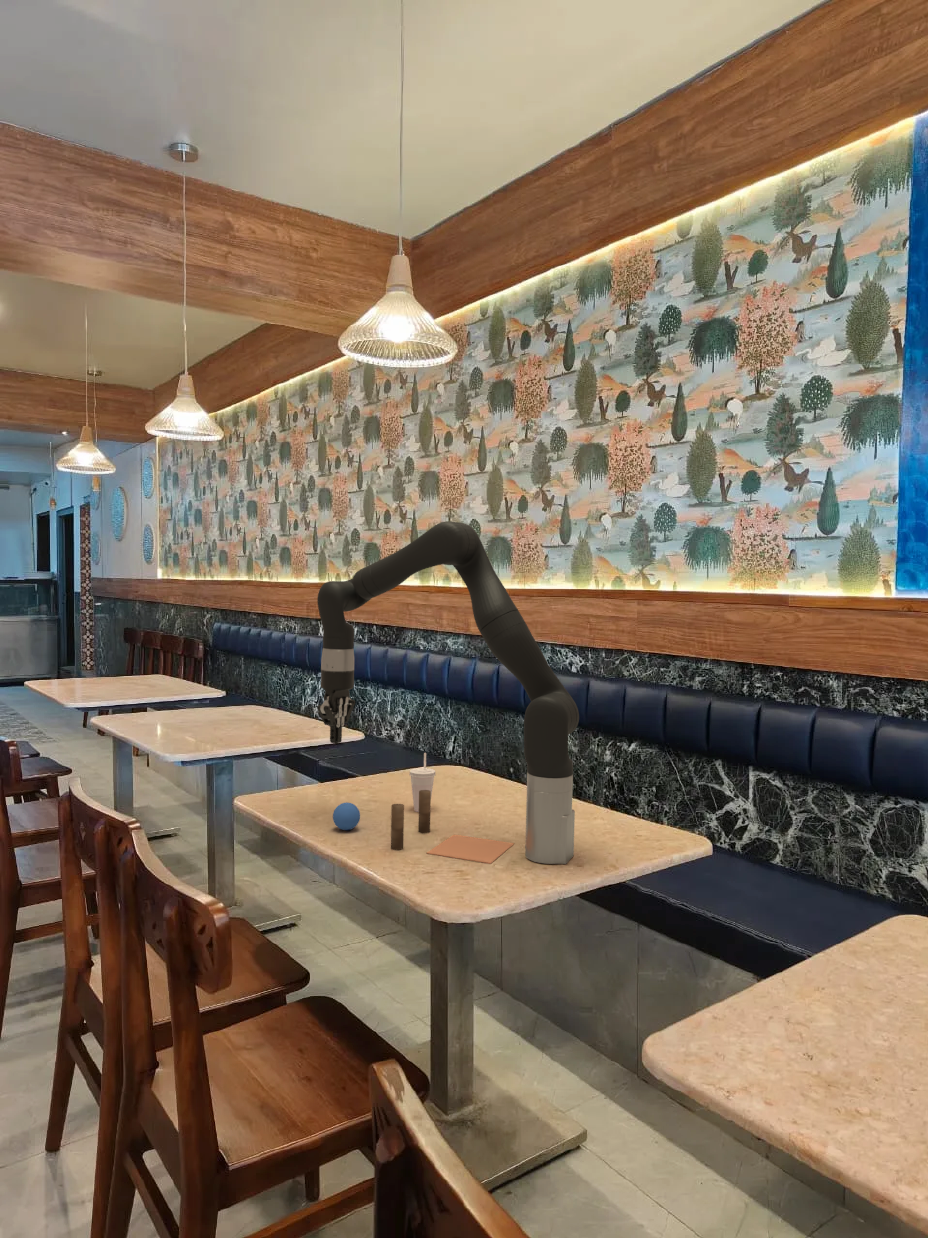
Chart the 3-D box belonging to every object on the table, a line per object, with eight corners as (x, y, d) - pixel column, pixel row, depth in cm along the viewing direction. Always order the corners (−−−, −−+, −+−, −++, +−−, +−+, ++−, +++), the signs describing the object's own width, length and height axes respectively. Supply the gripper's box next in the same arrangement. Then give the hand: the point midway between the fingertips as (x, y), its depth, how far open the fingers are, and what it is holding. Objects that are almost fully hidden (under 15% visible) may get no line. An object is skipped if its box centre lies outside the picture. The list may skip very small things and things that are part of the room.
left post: (405, 847, 177) (406, 804, 177) (399, 851, 175) (400, 807, 174) (394, 845, 178) (395, 803, 178) (388, 849, 176) (389, 806, 176)
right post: (431, 830, 189) (432, 790, 189) (426, 834, 187) (427, 793, 187) (421, 829, 190) (422, 789, 190) (416, 832, 188) (417, 792, 188)
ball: (364, 828, 190) (365, 801, 190) (351, 835, 185) (351, 807, 185) (341, 824, 193) (342, 798, 192) (327, 831, 187) (327, 804, 187)
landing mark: (514, 844, 181) (514, 843, 181) (490, 864, 168) (490, 863, 168) (453, 835, 186) (453, 834, 186) (426, 853, 174) (426, 852, 173)
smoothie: (431, 814, 202) (432, 756, 202) (405, 812, 204) (406, 754, 203) (437, 807, 208) (438, 751, 208) (412, 806, 210) (413, 749, 209)
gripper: (336, 671, 188) (334, 749, 189) (366, 666, 200) (364, 739, 201) (307, 669, 191) (305, 745, 192) (339, 664, 203) (337, 736, 204)
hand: (335, 742), depth 196 cm, fingers closed
